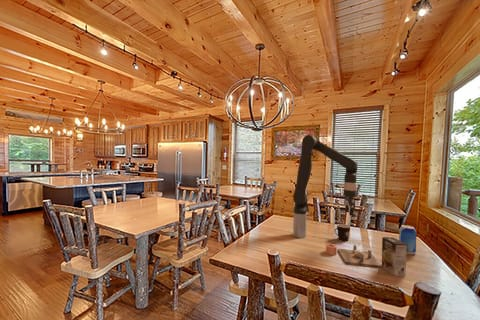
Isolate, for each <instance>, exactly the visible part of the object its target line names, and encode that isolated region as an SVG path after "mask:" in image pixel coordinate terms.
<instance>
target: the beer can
mask: <svg viewBox="0 0 480 320" xmlns="http://www.w3.org/2000/svg"><path fill="white" fill-rule="evenodd" d="M398 235H399V236H398V237H399V238H398V240H400V241H402V242H404V243H406V244H407V252H406V255H415V253H417V231H416V228H415V227H414V226H412V225H408V224H406V225H405V224H402V225H401V226H400V227H399V232H398Z"/></svg>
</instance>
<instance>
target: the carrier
mask: <svg viewBox="0 0 480 320" xmlns="http://www.w3.org/2000/svg"><path fill="white" fill-rule="evenodd" d="M337 253H339V256H340V257H341V259H342V260H343V262H344V263H345V265H352V266H360V267H368V268H379V269H382V268H383V267H382V263H380V261H379V260H377V258H375V256H374V255H373V254H372V250H370V249H368V250H367V251H366V250H360V249H357V245H356V244H353V249H344V248H337Z"/></svg>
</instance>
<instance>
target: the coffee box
mask: <svg viewBox="0 0 480 320" xmlns="http://www.w3.org/2000/svg"><path fill="white" fill-rule="evenodd" d="M381 245H382V246H381V247H382V248H381V265H382V268H383V269H385V270H386V271H387V272H389V273H390V274H391V275H393V276H397V277H399V276H406V274H407V254H406V252H407V244H406V243H404V242H402V241H400V240H399V238H395V237H393V236H392V237H390V236H382V240H381Z"/></svg>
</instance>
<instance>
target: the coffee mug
mask: <svg viewBox="0 0 480 320" xmlns="http://www.w3.org/2000/svg"><path fill="white" fill-rule="evenodd" d="M336 230H337V232H336ZM350 232H351V226H350V225H349V224H345V223H337V224H336V228H334V234H335V235H336V236H337V239H338V240H339V241H340V242H349V238H350Z"/></svg>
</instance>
